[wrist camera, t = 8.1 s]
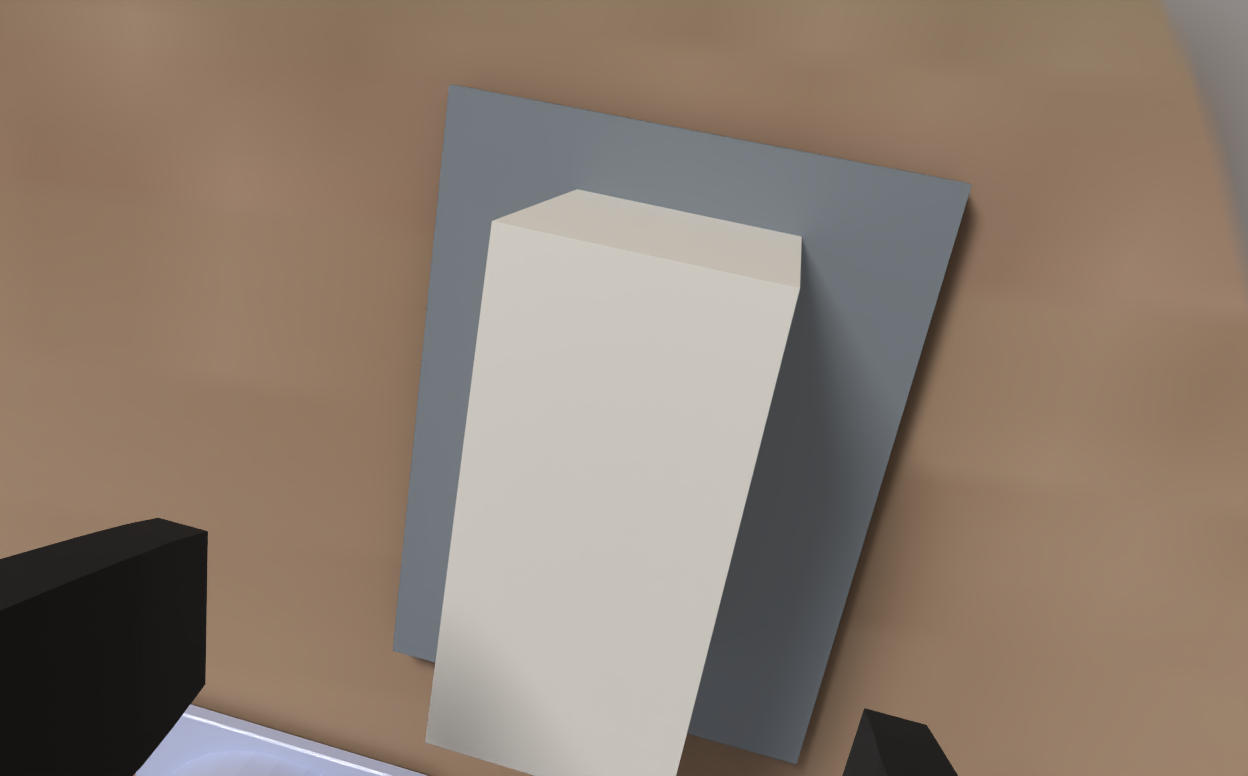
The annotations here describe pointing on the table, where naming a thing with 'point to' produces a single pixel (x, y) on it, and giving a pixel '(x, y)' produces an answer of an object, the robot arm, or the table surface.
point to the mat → (804, 392)
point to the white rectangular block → (603, 479)
